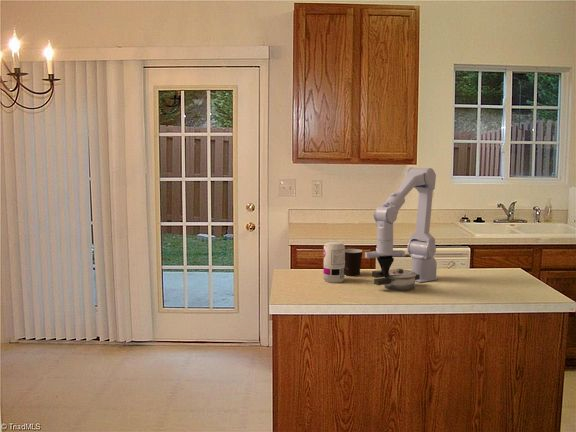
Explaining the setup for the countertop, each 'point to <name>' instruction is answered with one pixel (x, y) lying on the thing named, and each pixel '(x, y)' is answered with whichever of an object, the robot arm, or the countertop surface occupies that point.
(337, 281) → the supplement can
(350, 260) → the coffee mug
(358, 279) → the countertop surface
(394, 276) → the lid
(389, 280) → the pot
